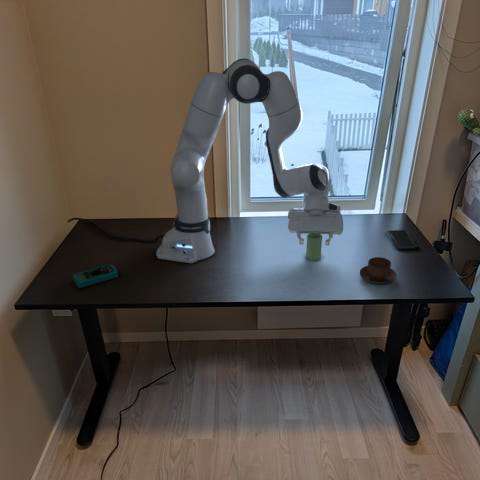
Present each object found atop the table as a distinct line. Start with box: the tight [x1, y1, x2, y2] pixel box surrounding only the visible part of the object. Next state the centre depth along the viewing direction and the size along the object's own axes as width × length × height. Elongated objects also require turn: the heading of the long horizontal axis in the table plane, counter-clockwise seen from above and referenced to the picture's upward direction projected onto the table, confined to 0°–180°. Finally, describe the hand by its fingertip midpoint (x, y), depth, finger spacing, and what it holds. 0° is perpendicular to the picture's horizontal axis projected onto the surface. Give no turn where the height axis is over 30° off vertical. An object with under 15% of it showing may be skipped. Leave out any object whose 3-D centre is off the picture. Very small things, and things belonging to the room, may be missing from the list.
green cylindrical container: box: [305, 233, 323, 261], centre depth 170 cm, size 5×5×8 cm
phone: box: [386, 229, 418, 251], centre depth 180 cm, size 8×1×15 cm
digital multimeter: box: [72, 263, 119, 289], centre depth 163 cm, size 7×15×3 cm, turn 122°
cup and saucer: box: [359, 256, 397, 285], centre depth 156 cm, size 12×12×6 cm
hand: (314, 244), depth 169 cm, fingers open, 8 cm apart
